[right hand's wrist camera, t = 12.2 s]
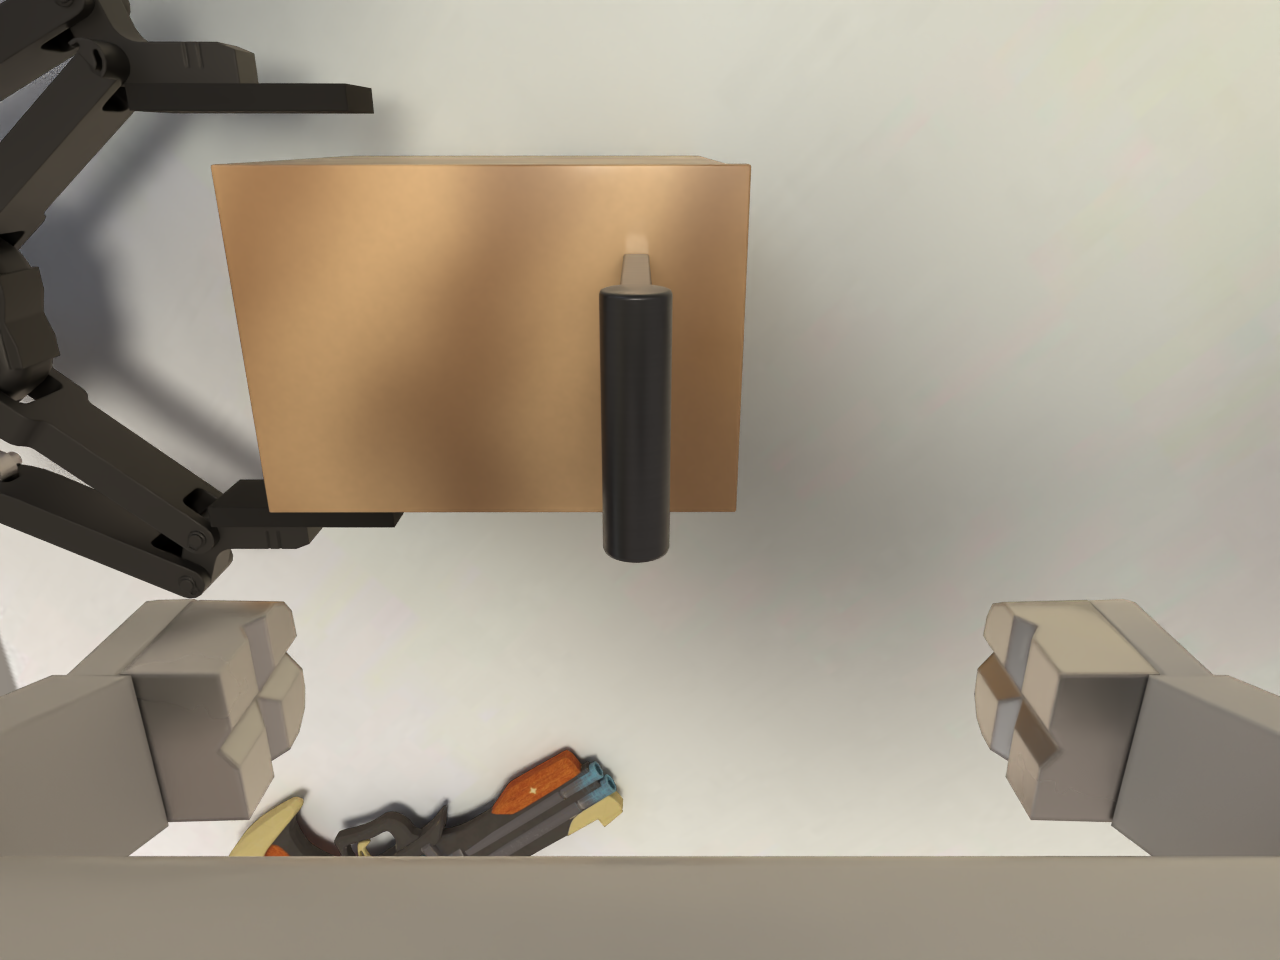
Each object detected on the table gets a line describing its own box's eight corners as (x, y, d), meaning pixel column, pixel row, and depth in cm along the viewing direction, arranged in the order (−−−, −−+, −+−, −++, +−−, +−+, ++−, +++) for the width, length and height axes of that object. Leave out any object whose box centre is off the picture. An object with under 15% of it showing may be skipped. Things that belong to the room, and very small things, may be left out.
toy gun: (206, 864, 44) (331, 1001, 46) (510, 669, 41) (630, 823, 43) (231, 830, 46) (348, 961, 48) (518, 645, 44) (631, 791, 46)
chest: (700, 155, 34) (727, 163, 24) (694, 401, 38) (715, 501, 27) (350, 155, 34) (223, 163, 24) (378, 401, 38) (279, 502, 27)
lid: (747, 163, 24) (802, 176, 16) (733, 502, 27) (772, 649, 19) (223, 163, 24) (16, 177, 16) (279, 502, 27) (133, 650, 19)
